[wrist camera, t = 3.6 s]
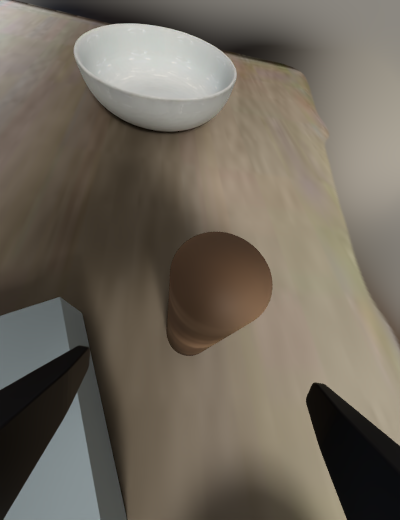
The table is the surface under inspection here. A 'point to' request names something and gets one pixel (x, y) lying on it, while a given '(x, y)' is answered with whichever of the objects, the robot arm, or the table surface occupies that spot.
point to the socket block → (72, 427)
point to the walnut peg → (214, 290)
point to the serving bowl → (155, 75)
